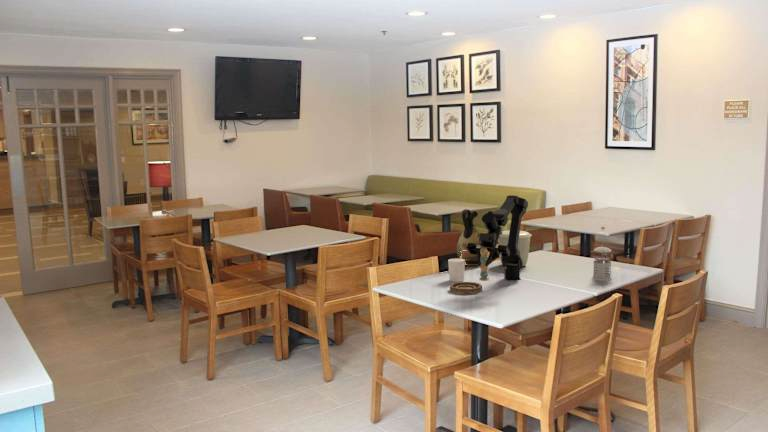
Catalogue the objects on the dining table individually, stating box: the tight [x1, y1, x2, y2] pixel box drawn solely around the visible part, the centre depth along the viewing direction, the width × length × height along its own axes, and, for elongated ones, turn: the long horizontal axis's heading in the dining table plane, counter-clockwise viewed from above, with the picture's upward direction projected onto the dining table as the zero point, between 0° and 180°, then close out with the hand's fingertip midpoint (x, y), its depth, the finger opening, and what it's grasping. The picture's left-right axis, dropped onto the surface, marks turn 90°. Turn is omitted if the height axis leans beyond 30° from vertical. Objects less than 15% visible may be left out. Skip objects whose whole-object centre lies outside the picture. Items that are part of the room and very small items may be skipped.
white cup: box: [447, 257, 466, 283], centre depth 320 cm, size 8×8×10 cm
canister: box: [498, 229, 533, 267], centre depth 350 cm, size 18×18×21 cm
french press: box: [591, 226, 614, 282], centre depth 317 cm, size 10×12×25 cm
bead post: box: [479, 247, 490, 282], centre depth 291 cm, size 4×4×14 cm
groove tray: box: [449, 281, 483, 295], centre depth 300 cm, size 14×14×2 cm
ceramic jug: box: [456, 208, 483, 266], centre depth 355 cm, size 17×15×30 cm
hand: (482, 265), depth 290 cm, fingers closed on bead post, 3 cm apart
